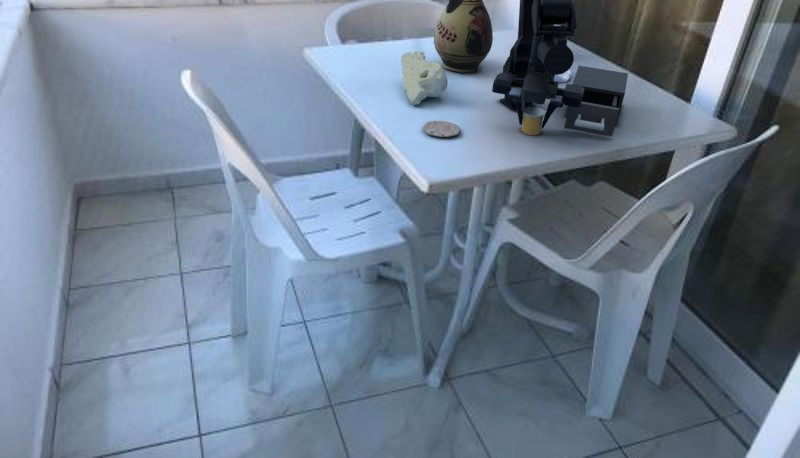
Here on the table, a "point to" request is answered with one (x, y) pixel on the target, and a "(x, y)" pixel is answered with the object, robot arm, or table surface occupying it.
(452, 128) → the flatbread
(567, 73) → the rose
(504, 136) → the table surface
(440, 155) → the table surface
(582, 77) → the mini drawer cabinet
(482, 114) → the table surface
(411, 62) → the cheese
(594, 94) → the drawer
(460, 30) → the ceramic jug
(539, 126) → the coffee pod
